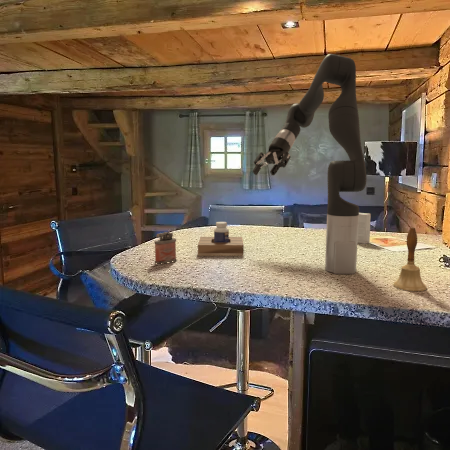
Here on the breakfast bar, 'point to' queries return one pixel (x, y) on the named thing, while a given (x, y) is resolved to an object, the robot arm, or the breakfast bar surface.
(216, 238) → the pill bottle
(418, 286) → the hand bell
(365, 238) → the skincare box
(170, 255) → the lighter
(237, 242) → the socket block
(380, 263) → the breakfast bar surface
